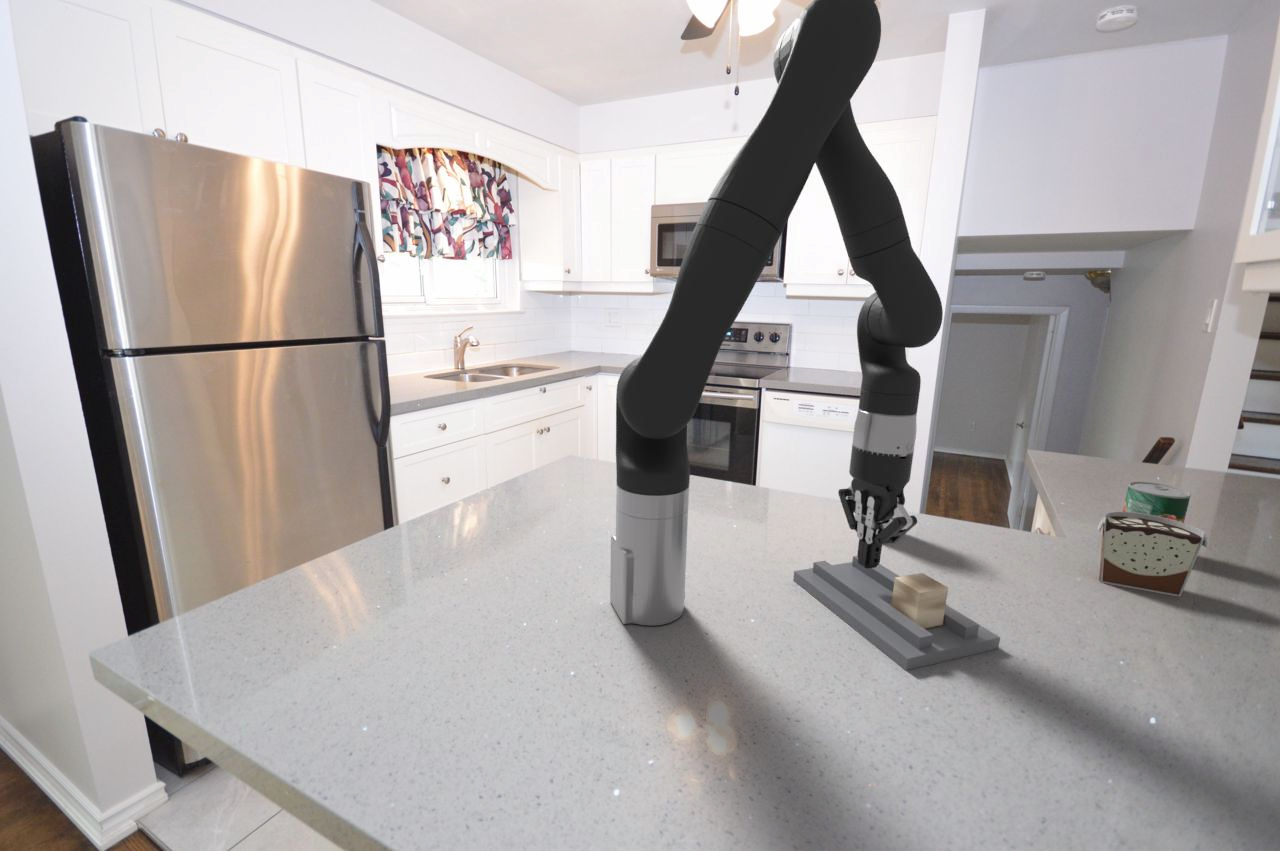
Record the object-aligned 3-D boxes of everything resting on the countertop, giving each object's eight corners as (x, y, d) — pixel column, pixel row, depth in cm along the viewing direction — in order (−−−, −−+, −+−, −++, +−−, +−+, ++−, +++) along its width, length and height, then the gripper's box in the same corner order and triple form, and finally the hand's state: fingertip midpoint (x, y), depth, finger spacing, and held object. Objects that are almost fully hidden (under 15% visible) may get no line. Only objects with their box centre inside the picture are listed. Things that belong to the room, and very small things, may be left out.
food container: (1176, 581, 87) (1191, 519, 85) (1194, 599, 82) (1210, 533, 80) (1077, 564, 92) (1089, 505, 90) (1088, 580, 87) (1101, 518, 85)
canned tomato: (1172, 564, 93) (1187, 500, 91) (1111, 548, 99) (1124, 487, 96) (1179, 551, 98) (1194, 490, 96) (1120, 536, 104) (1133, 478, 101)
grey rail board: (793, 580, 85) (795, 561, 84) (870, 567, 89) (872, 550, 89) (905, 670, 64) (909, 646, 64) (998, 648, 69) (1002, 626, 68)
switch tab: (890, 613, 73) (895, 577, 72) (917, 608, 74) (922, 572, 73) (914, 630, 69) (919, 592, 68) (942, 624, 71) (948, 587, 70)
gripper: (827, 434, 81) (815, 549, 84) (897, 459, 68) (879, 592, 72) (871, 432, 83) (857, 543, 87) (945, 456, 71) (926, 584, 74)
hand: (867, 565), depth 79 cm, fingers closed
